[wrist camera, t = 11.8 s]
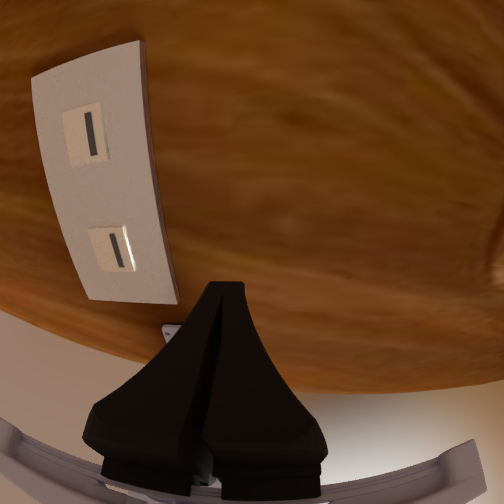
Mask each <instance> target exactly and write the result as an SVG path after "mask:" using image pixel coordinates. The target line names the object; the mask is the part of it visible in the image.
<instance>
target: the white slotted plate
mask: <svg viewBox="0 0 504 504" xmlns="http://www.w3.org/2000/svg"><path fill="white" fill-rule="evenodd" d="M31 85H32V96H33V106H34V114H35V121H36V128H37V134H38V140H39V146H40V151H41V156H42V161H43V165H44V170H45V174H46V178H47V182H48V186H49V190H50V194H51V197H52V201H53V204H54V208H55V211H56V214H57V217H58V221H59V224H60V227H61V230H62V233H63V236H64V239H65V241H66V244H67V247H68V250H69V252H70V255H71V258H72V260H73V263H74V265H75V268H76V270H77V273H78V275H79V277H80V280H81V282H82V284H83V287H84V289H85V291H86V294H87V296H88V298H89V299H92V300H105V301H120V302H136V303H156V304H178V301H179V298H180V295H179V290H178V286H177V282H176V277H175V272H174V268H173V263H172V258H171V253H170V248H169V243H168V238H167V233H166V228H165V222H164V216H163V211H162V205H161V198H160V192H159V186H158V179H157V172H156V165H155V157H154V149H153V141H152V132H151V122H150V112H149V101H148V87H147V72H146V49H145V42H144V41H141V40H138V41H134V42H129V43H126V44H122V45H118V46H114V47H111V48H107V49H104V50H101V51H98V52H95V53H92V54H89V55H86V56H83V57H80V58H77V59H74V60H72V61H69V62H67V63H64V64H62V65H59V66H57V67H54V68H52V69H50V70H47V71H45V72H43V73H41V74H39V75H36V76H34V77H32V78H31Z"/></svg>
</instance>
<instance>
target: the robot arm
mask: <svg viewBox="0 0 504 504" xmlns="http://www.w3.org/2000/svg"><path fill="white" fill-rule="evenodd" d="M162 332H163V335H164V338H165V341H166V343H167V344H166V345H165V346H164V347H163V348H162V349H161V351H160V352H159V353H158V354H157V355H156V356H155V357H154V358H153V359H152V360H151V361H150V362H149V363H148V364H147V365H146V366H145V367H143V369H141V370H140V371H139V372H138V373H137V374H135V375H134V376H133V377H132V378H130V379H129V380H128V381H127V382H126V383H124V384H123V385H122V386H121V387H119V388H118V389H117V390H115V391H114V392H112V393H111V394H109V395H107V396H106V397H104V398H103V399H102V400H100V401H98V402H97V403H95V404H94V405H93V407H92V409H91V411H90V413H89V416H88V419H87V422H86V426H85V429H84V432H83V436H82V439H83V440H84V442H85V443H86V444H87V445H88V446H89V447H91V448H92V449H93V450H95V451H96V452H98V453H100V454H101V455H103V456H104V461H103V465H102V466H101V465H97V464H95V463H91V462H89V461H86V460H83V459H80V458H78V457H75V456H72V455H70V454H67V453H65V452H62V451H60V450H57V449H55V448H53V447H51V446H48V445H46V444H44V443H42V442H40V441H38V440H35V439H33V438H31V437H29V436H27V435H25V434H24V433H22V432H21V431H20V430H19V429H18V428H16V427H15V426H13V425H12V424H11V423H9V422H7V421H6V420H4V419H2V418H0V474H1V475H2V476H4V477H5V478H6V479H8V480H9V481H10V482H12V483H13V484H14V485H15V486H17V487H18V488H19V489H21V490H22V491H23V492H25V493H26V494H27V495H29V496H30V497H32V498H33V499H35V500H36V501H38V502H39V503H41V504H319V503H327V502H329V503H328V504H466V503H467V502H469V501H471V500H473V499H474V498H476V497H478V496H480V495H481V494H483V493H485V492H486V490H487V487H486V482H485V478H484V473H483V469H482V465H481V461H480V457H479V454H478V450H477V447H476V443H475V440H474V439H472V440H469V441H467V442H465V443H462V444H460V445H458V446H455V447H453V448H451V449H449V450H447V451H445V452H443V453H442V454H440V455H439V456H438V457H436V458H434V459H431V460H428V461H426V462H422V463H420V464H417V465H413V466H410V467H407V468H404V469H400V470H397V471H393V472H389V473H385V474H382V475H378V476H373V477H369V478H364V479H359V480H354V481H348V482H343V483H336V484H329V485H322V486H321V485H320V475H321V464H320V463H321V462H322V461H323V460H324V459H325V457H326V456H327V455H328V449H327V444H326V441H325V438H324V436H323V433H322V431H321V429H320V427H319V425H318V423H317V421H316V419H315V418H314V417H313V416H312V415H311V414H310V413H309V412H308V410H307V409H306V408H305V407H304V406H303V405H302V404H301V402H300V401H299V400H298V399H297V398H296V396H295V395H294V394H293V392H292V391H291V390H290V388H289V387H288V385H287V384H286V383H285V381H284V380H283V378H282V377H281V375H280V374H279V372H278V371H277V369H276V368H275V366H274V364H273V363H272V361H271V359H270V358H269V356H268V354H267V352H266V350H265V348H264V346H263V344H262V342H261V340H260V338H259V336H258V333H257V331H256V329H255V326H254V324H253V321H252V318H251V315H250V312H249V309H248V306H247V302H246V297H245V285H244V283H243V282H228V281H210V282H209V283H208V284H207V286H206V288H205V290H204V292H203V293H202V295H201V297H200V298H199V300H198V302H197V303H196V305H195V306H194V308H193V309H192V311H191V312H190V314H189V315H188V317H187V318H186V320H185V321H184V322H183V324H182V325H163V326H162ZM104 483H105V484H108V485H112V486H115V487H118V488H121V489H125V490H128V494H129V495H130V496H128V495H126V494H124V493H120V492H117V491H114V490H111V489H108V488H107V487H106V485H105V484H104Z"/></svg>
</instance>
